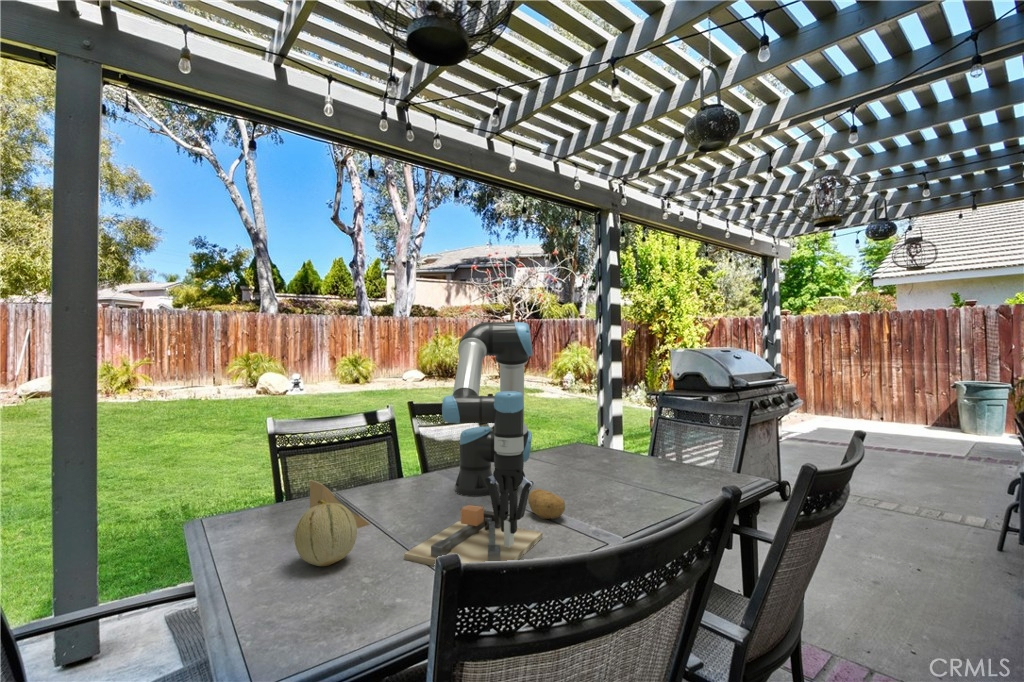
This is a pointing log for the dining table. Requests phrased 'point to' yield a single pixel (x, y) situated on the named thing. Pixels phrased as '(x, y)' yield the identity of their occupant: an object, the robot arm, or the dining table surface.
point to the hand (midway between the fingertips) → (508, 545)
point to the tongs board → (472, 543)
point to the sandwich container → (331, 500)
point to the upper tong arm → (492, 540)
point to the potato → (546, 504)
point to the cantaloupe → (325, 533)
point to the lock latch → (472, 515)
